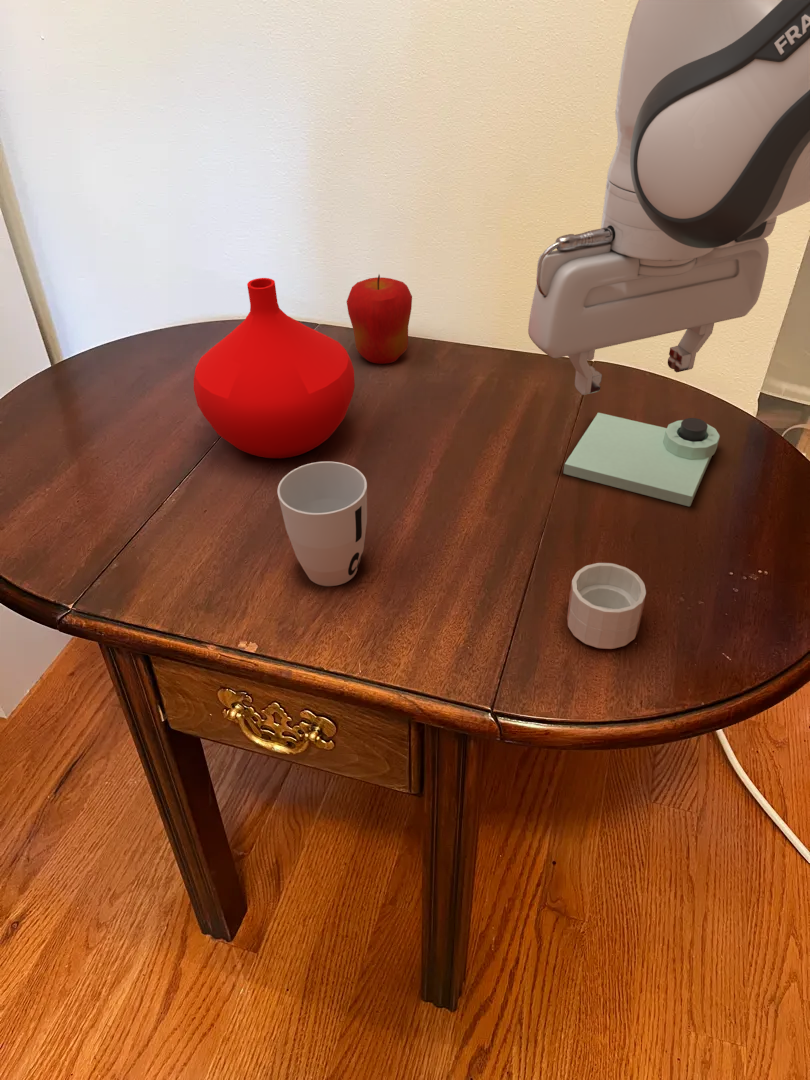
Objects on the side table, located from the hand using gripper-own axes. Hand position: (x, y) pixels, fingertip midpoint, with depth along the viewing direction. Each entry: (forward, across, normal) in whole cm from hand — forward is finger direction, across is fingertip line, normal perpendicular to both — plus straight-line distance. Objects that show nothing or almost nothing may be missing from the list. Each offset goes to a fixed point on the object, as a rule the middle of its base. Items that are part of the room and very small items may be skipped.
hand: (633, 379), depth 73 cm
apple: (+18, -7, +46) cm, 51 cm away
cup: (+18, -27, +7) cm, 33 cm away
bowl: (+18, -7, -10) cm, 22 cm away
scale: (+18, +11, +10) cm, 24 cm away
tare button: (+16, +16, +9) cm, 24 cm away
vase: (+18, -25, +32) cm, 45 cm away
